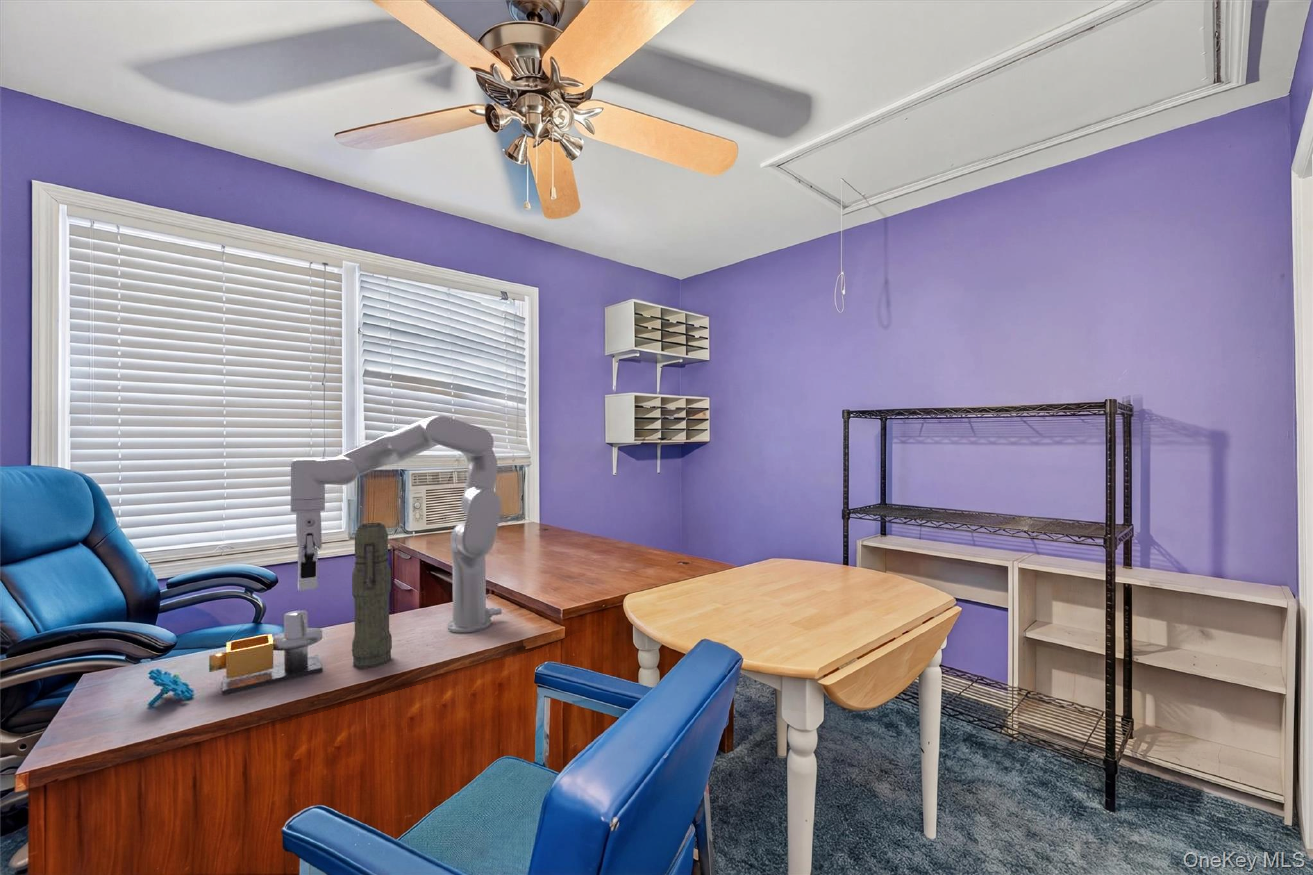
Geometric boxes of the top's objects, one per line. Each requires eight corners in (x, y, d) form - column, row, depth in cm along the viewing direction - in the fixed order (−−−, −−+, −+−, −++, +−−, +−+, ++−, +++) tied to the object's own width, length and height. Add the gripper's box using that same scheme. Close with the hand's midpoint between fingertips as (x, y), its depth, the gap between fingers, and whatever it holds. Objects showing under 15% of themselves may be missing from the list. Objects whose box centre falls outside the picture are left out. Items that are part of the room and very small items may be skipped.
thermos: (390, 649, 142) (389, 520, 143) (393, 665, 132) (392, 525, 133) (352, 656, 138) (351, 522, 139) (352, 673, 128) (351, 528, 128)
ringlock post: (319, 657, 138) (319, 603, 138) (325, 671, 129) (324, 614, 129) (210, 681, 124) (210, 622, 125) (208, 699, 116) (208, 635, 116)
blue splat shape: (192, 698, 113) (148, 671, 110) (165, 724, 110) (119, 698, 107) (202, 685, 122) (162, 661, 119) (177, 710, 119) (136, 685, 116)
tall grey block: (315, 585, 140) (316, 547, 141) (317, 588, 137) (317, 549, 137) (297, 587, 138) (297, 549, 138) (298, 590, 135) (299, 551, 135)
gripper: (328, 507, 134) (328, 579, 133) (321, 501, 147) (321, 568, 147) (292, 509, 129) (292, 584, 129) (288, 503, 142) (288, 572, 142)
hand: (307, 575), depth 138 cm, fingers closed on tall grey block, 3 cm apart
